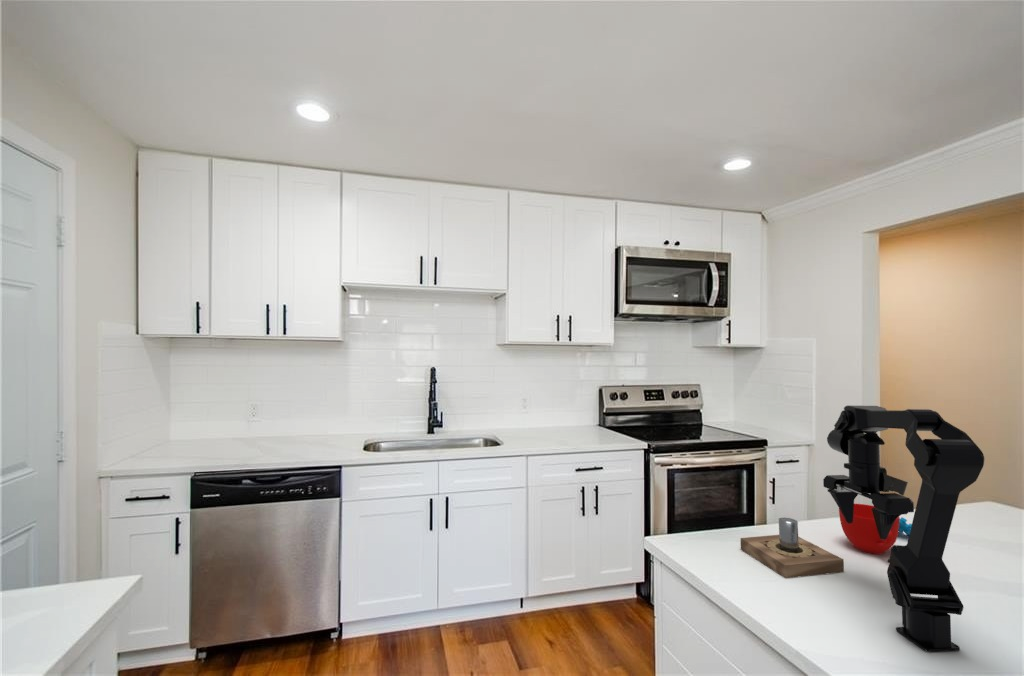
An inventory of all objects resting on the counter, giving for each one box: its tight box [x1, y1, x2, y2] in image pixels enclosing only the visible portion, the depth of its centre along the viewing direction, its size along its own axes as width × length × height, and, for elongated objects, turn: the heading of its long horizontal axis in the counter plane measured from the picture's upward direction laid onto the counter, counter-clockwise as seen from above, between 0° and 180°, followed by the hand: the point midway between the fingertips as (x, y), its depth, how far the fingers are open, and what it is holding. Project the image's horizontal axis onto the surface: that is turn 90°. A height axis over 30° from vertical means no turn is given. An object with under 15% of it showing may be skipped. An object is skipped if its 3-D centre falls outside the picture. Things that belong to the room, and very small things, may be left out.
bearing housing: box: [740, 534, 845, 579], centre depth 118 cm, size 16×16×3 cm
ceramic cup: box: [838, 503, 900, 555], centre depth 122 cm, size 13×17×10 cm
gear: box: [898, 516, 912, 537], centre depth 133 cm, size 11×6×10 cm
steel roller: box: [778, 517, 799, 553], centre depth 118 cm, size 4×4×10 cm
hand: (865, 530), depth 104 cm, fingers open, 9 cm apart
